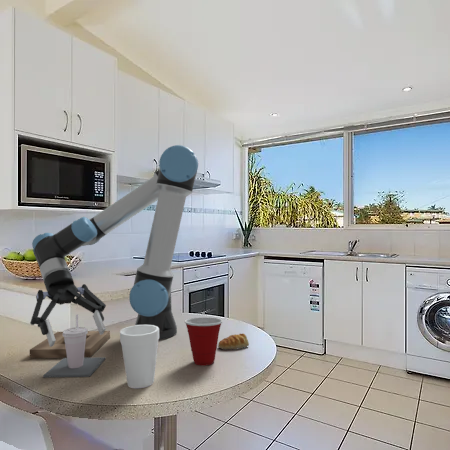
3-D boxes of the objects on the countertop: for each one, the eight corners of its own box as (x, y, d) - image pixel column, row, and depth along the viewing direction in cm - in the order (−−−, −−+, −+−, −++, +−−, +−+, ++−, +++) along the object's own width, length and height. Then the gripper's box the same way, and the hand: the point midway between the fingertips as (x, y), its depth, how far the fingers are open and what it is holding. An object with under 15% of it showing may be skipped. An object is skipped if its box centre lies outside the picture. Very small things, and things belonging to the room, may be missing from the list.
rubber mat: (105, 359, 105) (105, 357, 105) (89, 376, 93) (89, 374, 93) (63, 360, 105) (63, 357, 105) (43, 377, 93) (43, 375, 93)
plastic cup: (227, 356, 106) (227, 315, 106) (217, 370, 95) (217, 325, 95) (192, 353, 109) (191, 313, 109) (179, 367, 98) (178, 323, 98)
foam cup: (166, 377, 92) (165, 326, 92) (147, 393, 83) (146, 337, 83) (134, 373, 95) (133, 323, 95) (112, 388, 86) (111, 333, 86)
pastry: (224, 353, 109) (223, 340, 109) (214, 346, 115) (214, 334, 115) (250, 347, 113) (250, 335, 113) (240, 342, 119) (239, 330, 119)
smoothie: (79, 371, 95) (78, 317, 95) (57, 369, 96) (56, 317, 96) (92, 362, 101) (92, 312, 101) (72, 360, 103) (71, 311, 103)
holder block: (109, 338, 125) (109, 330, 125) (90, 357, 107) (90, 348, 107) (57, 338, 125) (57, 331, 125) (29, 358, 107) (29, 349, 107)
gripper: (93, 279, 119) (116, 334, 108) (7, 290, 101) (25, 357, 90) (100, 264, 115) (125, 320, 104) (12, 273, 97) (32, 340, 87)
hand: (79, 337), depth 97 cm, fingers open, 13 cm apart
